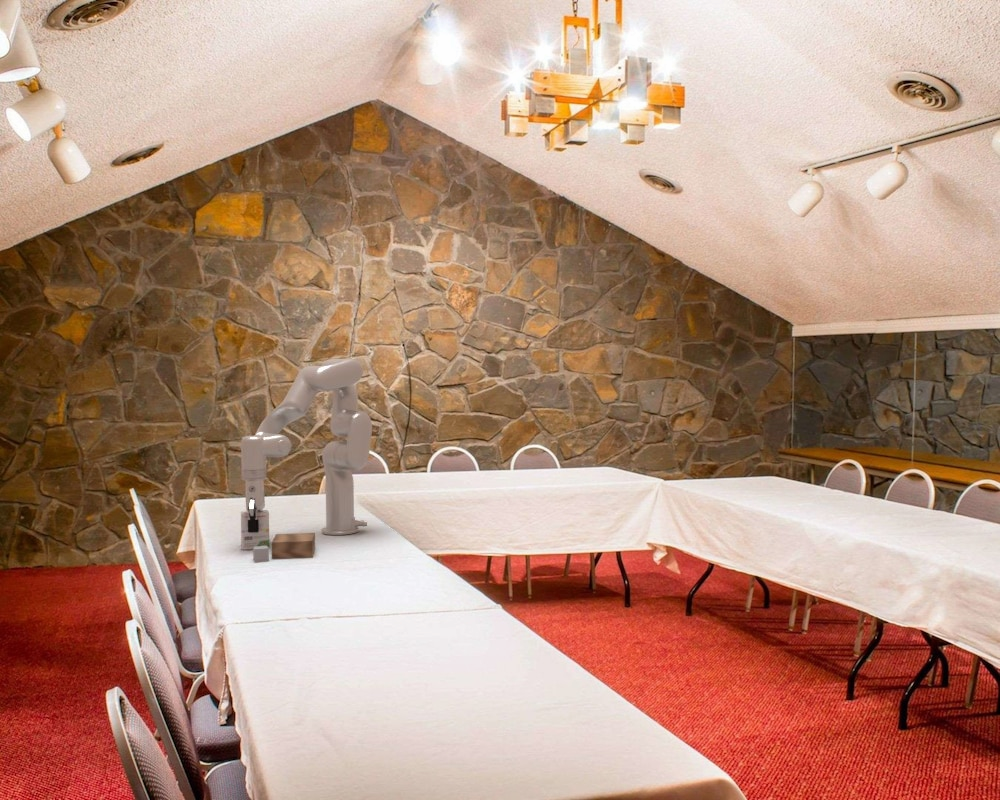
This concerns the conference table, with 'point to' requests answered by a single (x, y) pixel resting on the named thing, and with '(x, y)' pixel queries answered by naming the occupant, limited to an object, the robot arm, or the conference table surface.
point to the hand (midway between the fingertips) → (255, 529)
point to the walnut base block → (293, 545)
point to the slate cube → (261, 554)
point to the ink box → (256, 537)
